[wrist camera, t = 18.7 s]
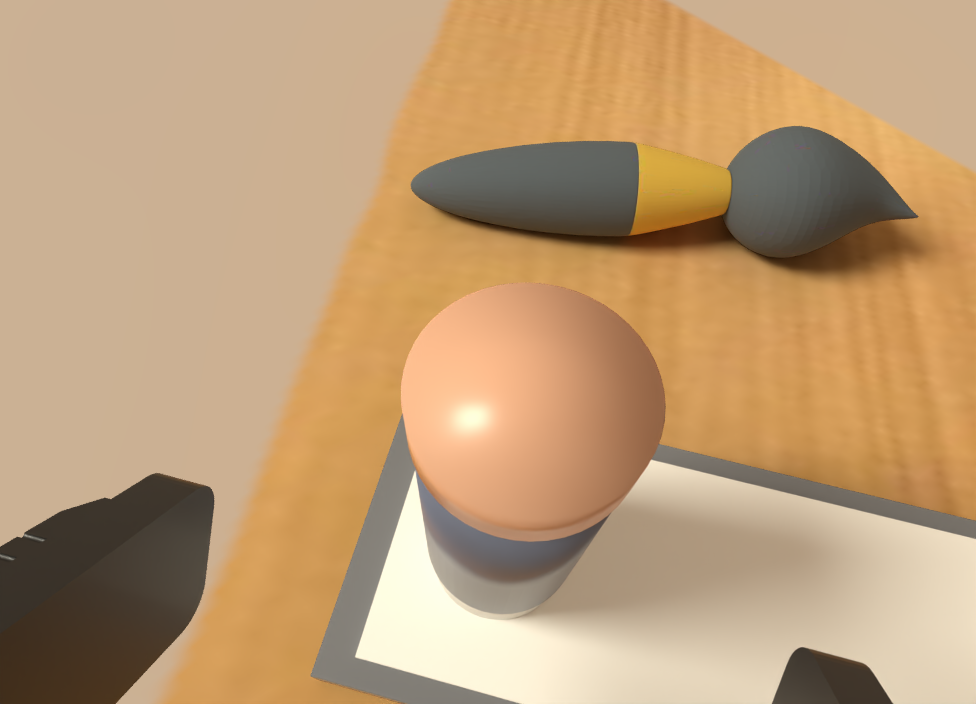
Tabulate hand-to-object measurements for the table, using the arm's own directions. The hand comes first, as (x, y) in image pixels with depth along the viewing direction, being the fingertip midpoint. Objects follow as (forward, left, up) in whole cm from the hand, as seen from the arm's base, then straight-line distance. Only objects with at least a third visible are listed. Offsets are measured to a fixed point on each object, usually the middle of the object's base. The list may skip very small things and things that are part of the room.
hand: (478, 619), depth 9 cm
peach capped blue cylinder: (0, -3, -9) cm, 10 cm away
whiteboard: (-6, -4, -11) cm, 13 cm away
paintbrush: (-3, -18, -11) cm, 22 cm away
